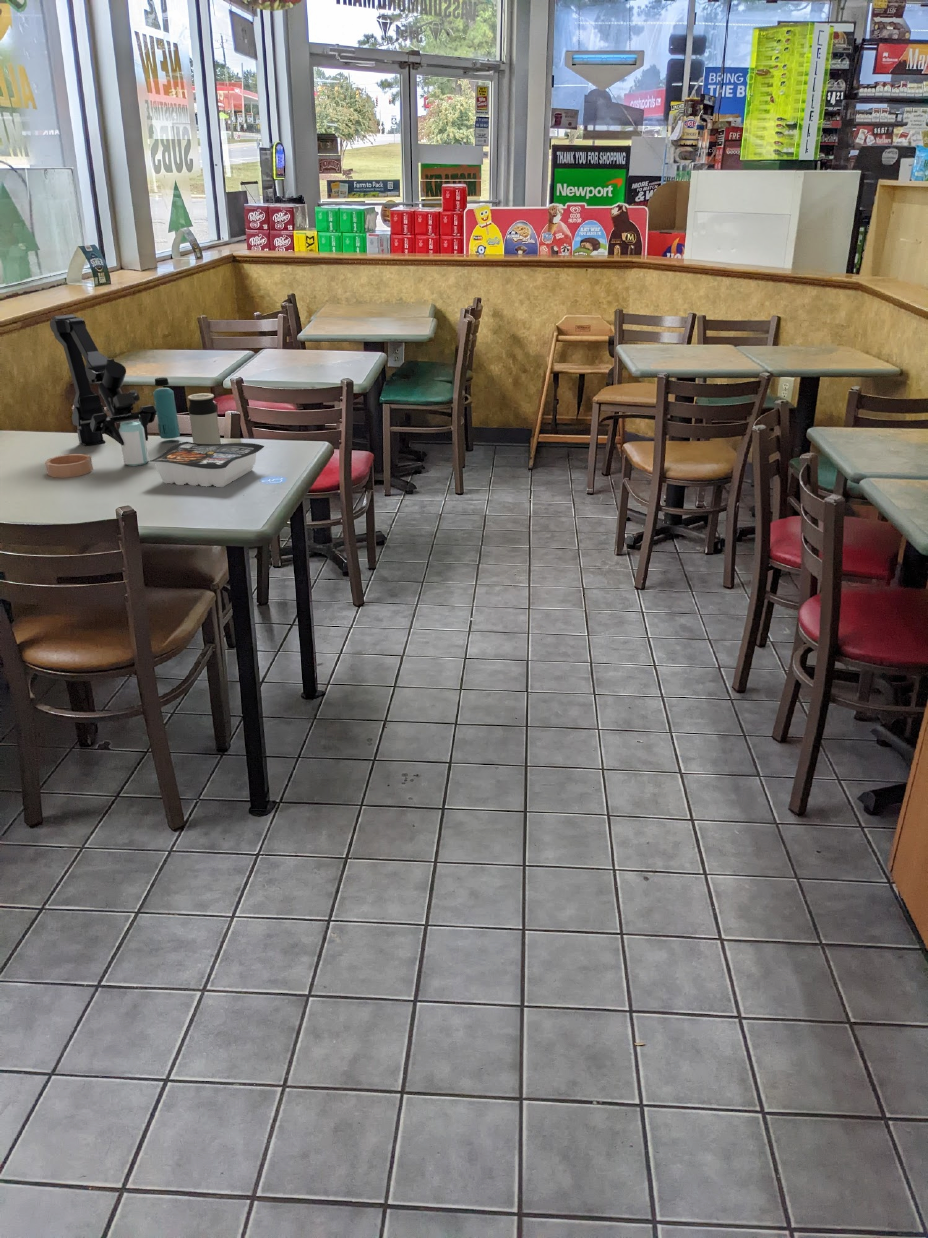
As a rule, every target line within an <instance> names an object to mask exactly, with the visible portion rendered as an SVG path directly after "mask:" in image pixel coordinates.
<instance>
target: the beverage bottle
mask: <svg viewBox="0 0 928 1238" xmlns="http://www.w3.org/2000/svg"><path fill="white" fill-rule="evenodd" d="M169 385H170V383H169V378H167V377H163V376H162V377H157V378H156V377H155V379H154V386H155V387H160V388H156V389H155V390H154V391H153V393H152V395H153V400H154V407H155V409H156V411H157V413H156V418H157V419H156V421H157V428H158V429H157V430H158V434H159V437H160V438H161V439H163V440H169V439H176V438H179V437H180V436H181V433H180V432H181V431H180V427H179V419H178V413H177V407H176V400H175V395H174V392H175V391H174V390H172V389H171V388H169V387H165V386H169Z"/></svg>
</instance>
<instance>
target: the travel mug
mask: <svg viewBox="0 0 928 1238" xmlns="http://www.w3.org/2000/svg"><path fill="white" fill-rule="evenodd" d="M214 397H215V395H214V394H213V393H206V392H205V393H201V392H200V393H194V394H190V395H188V396H187V399H188V400H189V406H188V414H189V420H190V421H189V422H190V423H189V424H190V427H191V434H192V435H191V436H192V443H197V444H222V442H221V436H220V435H221V434H220V426H219V419H218V410H217V405H216V404H215V402H214Z"/></svg>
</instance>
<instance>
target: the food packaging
mask: <svg viewBox="0 0 928 1238" xmlns="http://www.w3.org/2000/svg"><path fill="white" fill-rule="evenodd" d="M264 447H265V445H262V444H258V443H251V442H231V443H230V442H227V443H221V444H197V443H193V442H190V441H182V442H179V443H176V444H174V445H172V446H171V447H169V448H168V449H166V451H164V452H163V453H161V454H160V455H159V456H157V457H156V458H153V459H151V460H150V459H149V461H147V462H146V463H149V462H154V465H155V468H156V470H157V473H158V474H159V477H160V479H161V480H162V482H163V483H164V484H167V483H173V484H174V483H175V484H176V486H185V485H187V484H188V485H189V486H196V485H197V486H198V485H199V486H200V487H202V486H206V487H205V488H208V487H207V486H210V487H212V486H214V487H215V486H216V488H224V487H226V486H228V485H229V484H231V483H232V481H233V482H234V481H237V479H239V478H241V477H243V476H245V475H246V474H249V472H251V471H252V470H253V469H254V467H255V466H254V465H256V460H257V459H256V458H257V453H258V452H260V451H261V450H263V448H264ZM184 484H185V485H184Z"/></svg>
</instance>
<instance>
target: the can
mask: <svg viewBox="0 0 928 1238" xmlns="http://www.w3.org/2000/svg"><path fill="white" fill-rule="evenodd" d="M118 432H119V434H120V436H121V437H122V439H123V442H124V445H121V444H120V447H121V452H122V458H123V463H124V464H125V465H127V466H130V467H137V466H138V465H139V466H143V465H146V464H147V463H148V462H147V461H150V458H149V453H148V448H147V441H146V439H145V432H144V427H143V426H142V425H141V422H139V421H138V420H131V421H125V422H120V423H119V428H118Z"/></svg>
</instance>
